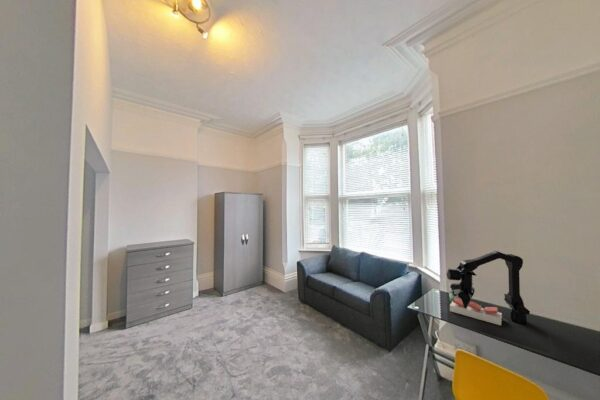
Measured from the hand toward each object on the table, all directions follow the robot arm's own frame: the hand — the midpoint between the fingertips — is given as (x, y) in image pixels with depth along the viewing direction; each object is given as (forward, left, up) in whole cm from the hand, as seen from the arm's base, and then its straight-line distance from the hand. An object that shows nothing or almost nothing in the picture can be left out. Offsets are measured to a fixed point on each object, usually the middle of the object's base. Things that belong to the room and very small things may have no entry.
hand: (466, 305), depth 137 cm
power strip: (-4, -4, -6) cm, 8 cm away
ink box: (+8, -20, -7) cm, 23 cm away
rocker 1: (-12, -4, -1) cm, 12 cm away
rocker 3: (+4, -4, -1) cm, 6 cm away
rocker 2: (-4, -4, -1) cm, 5 cm away
